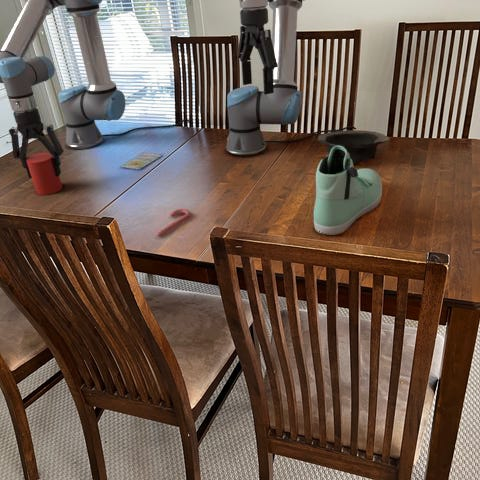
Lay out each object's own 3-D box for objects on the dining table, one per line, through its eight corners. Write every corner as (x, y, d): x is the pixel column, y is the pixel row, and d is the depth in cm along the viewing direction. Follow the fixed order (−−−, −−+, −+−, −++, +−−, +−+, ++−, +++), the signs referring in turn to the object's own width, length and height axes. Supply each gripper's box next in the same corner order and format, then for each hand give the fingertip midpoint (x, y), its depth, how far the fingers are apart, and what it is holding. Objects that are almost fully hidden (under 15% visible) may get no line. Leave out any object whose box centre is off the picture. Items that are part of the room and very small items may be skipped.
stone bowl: (346, 175, 157) (346, 148, 153) (303, 158, 178) (302, 133, 173) (403, 157, 166) (405, 130, 162) (356, 142, 186) (356, 118, 182)
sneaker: (389, 187, 148) (396, 123, 138) (356, 242, 123) (361, 168, 112) (346, 181, 154) (350, 119, 144) (306, 232, 129) (307, 161, 118)
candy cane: (144, 233, 135) (143, 228, 134) (179, 210, 145) (179, 206, 144) (160, 238, 132) (159, 233, 131) (195, 214, 142) (194, 210, 141)
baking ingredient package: (119, 165, 178) (143, 152, 189) (120, 167, 178) (143, 153, 189) (139, 168, 174) (162, 154, 185) (139, 169, 174) (162, 155, 186)
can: (34, 188, 168) (24, 156, 161) (60, 182, 171) (51, 150, 165) (38, 197, 161) (27, 164, 155) (64, 190, 164) (55, 158, 158)
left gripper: (-14, 115, 148) (9, 182, 160) (54, 110, 148) (73, 178, 160) (-3, 108, 155) (18, 173, 167) (62, 104, 154) (79, 169, 166)
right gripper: (222, 7, 137) (228, 82, 148) (263, 13, 117) (266, 100, 128) (245, 4, 140) (250, 78, 151) (289, 9, 120) (290, 95, 131)
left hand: (45, 175), depth 163 cm, fingers closed on can, 9 cm apart
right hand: (257, 88), depth 140 cm, fingers open, 13 cm apart
